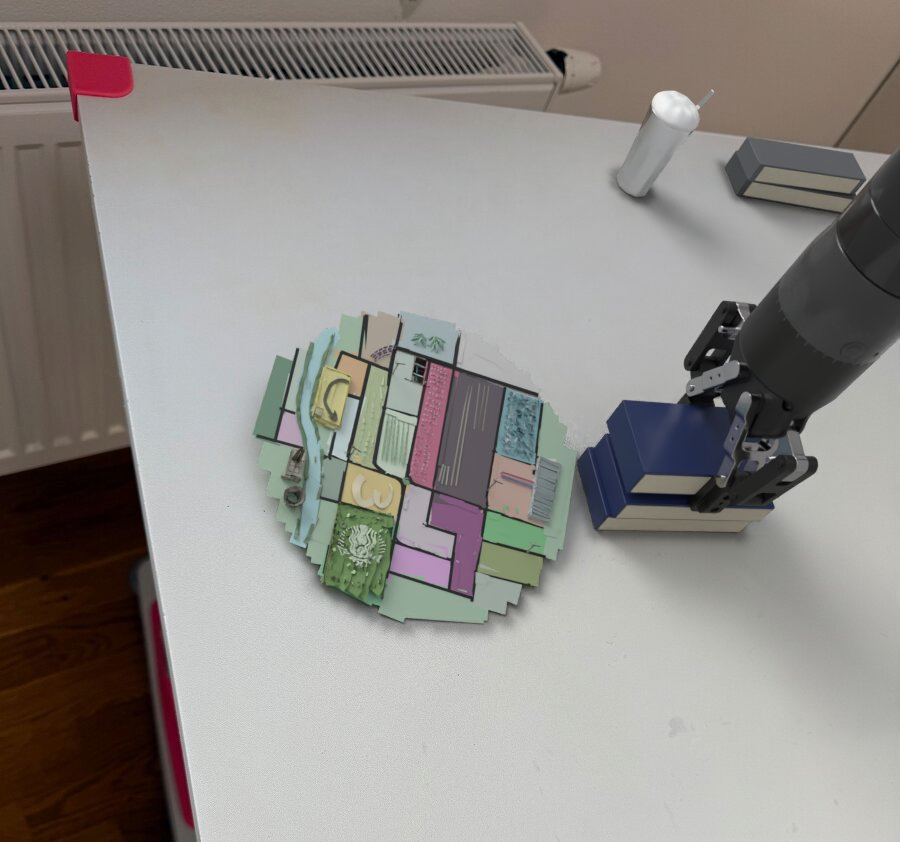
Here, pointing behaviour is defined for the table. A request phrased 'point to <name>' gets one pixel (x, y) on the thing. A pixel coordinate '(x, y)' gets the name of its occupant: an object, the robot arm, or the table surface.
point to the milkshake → (658, 140)
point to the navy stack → (649, 501)
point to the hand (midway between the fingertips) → (687, 467)
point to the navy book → (669, 445)
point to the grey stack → (795, 174)
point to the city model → (416, 466)
